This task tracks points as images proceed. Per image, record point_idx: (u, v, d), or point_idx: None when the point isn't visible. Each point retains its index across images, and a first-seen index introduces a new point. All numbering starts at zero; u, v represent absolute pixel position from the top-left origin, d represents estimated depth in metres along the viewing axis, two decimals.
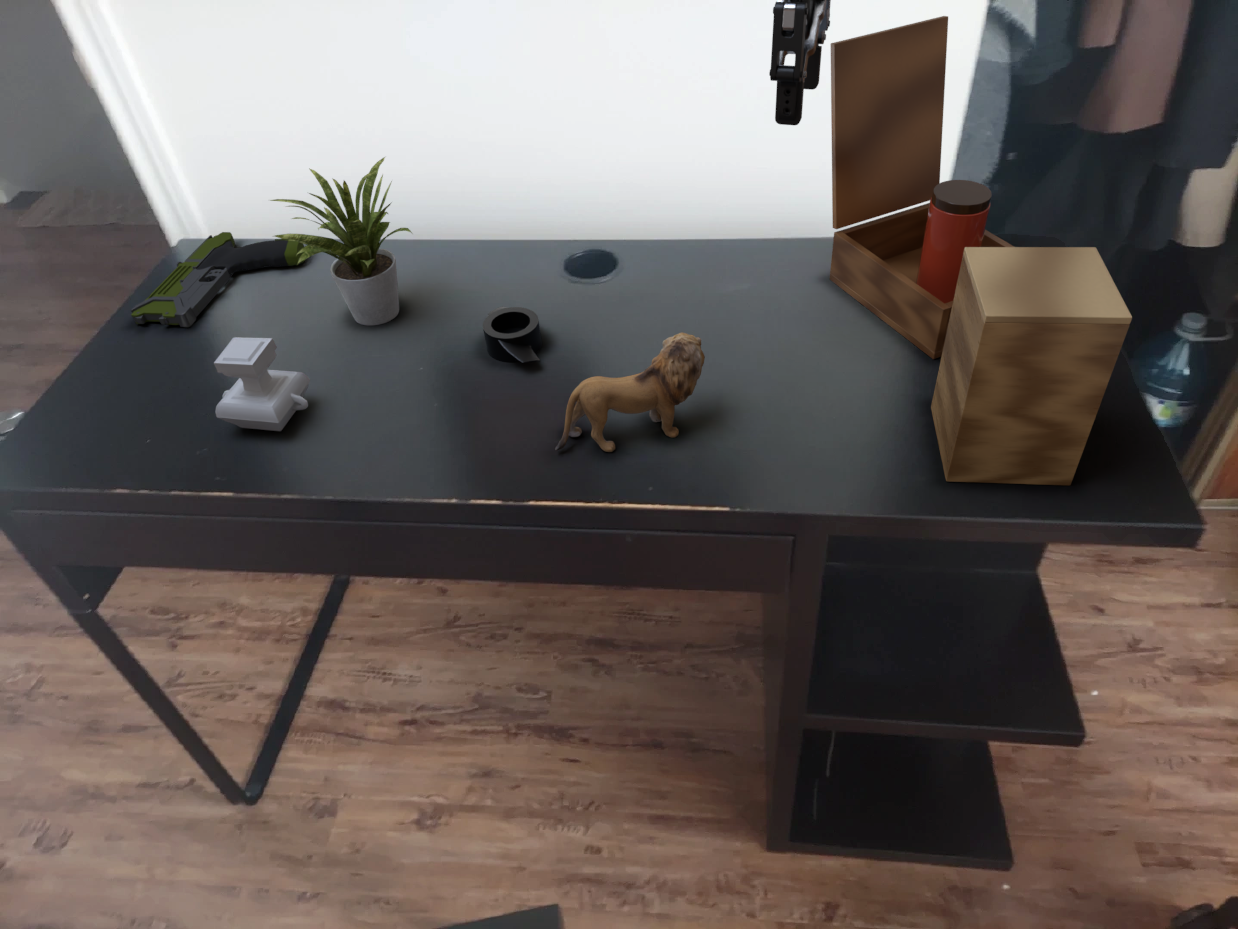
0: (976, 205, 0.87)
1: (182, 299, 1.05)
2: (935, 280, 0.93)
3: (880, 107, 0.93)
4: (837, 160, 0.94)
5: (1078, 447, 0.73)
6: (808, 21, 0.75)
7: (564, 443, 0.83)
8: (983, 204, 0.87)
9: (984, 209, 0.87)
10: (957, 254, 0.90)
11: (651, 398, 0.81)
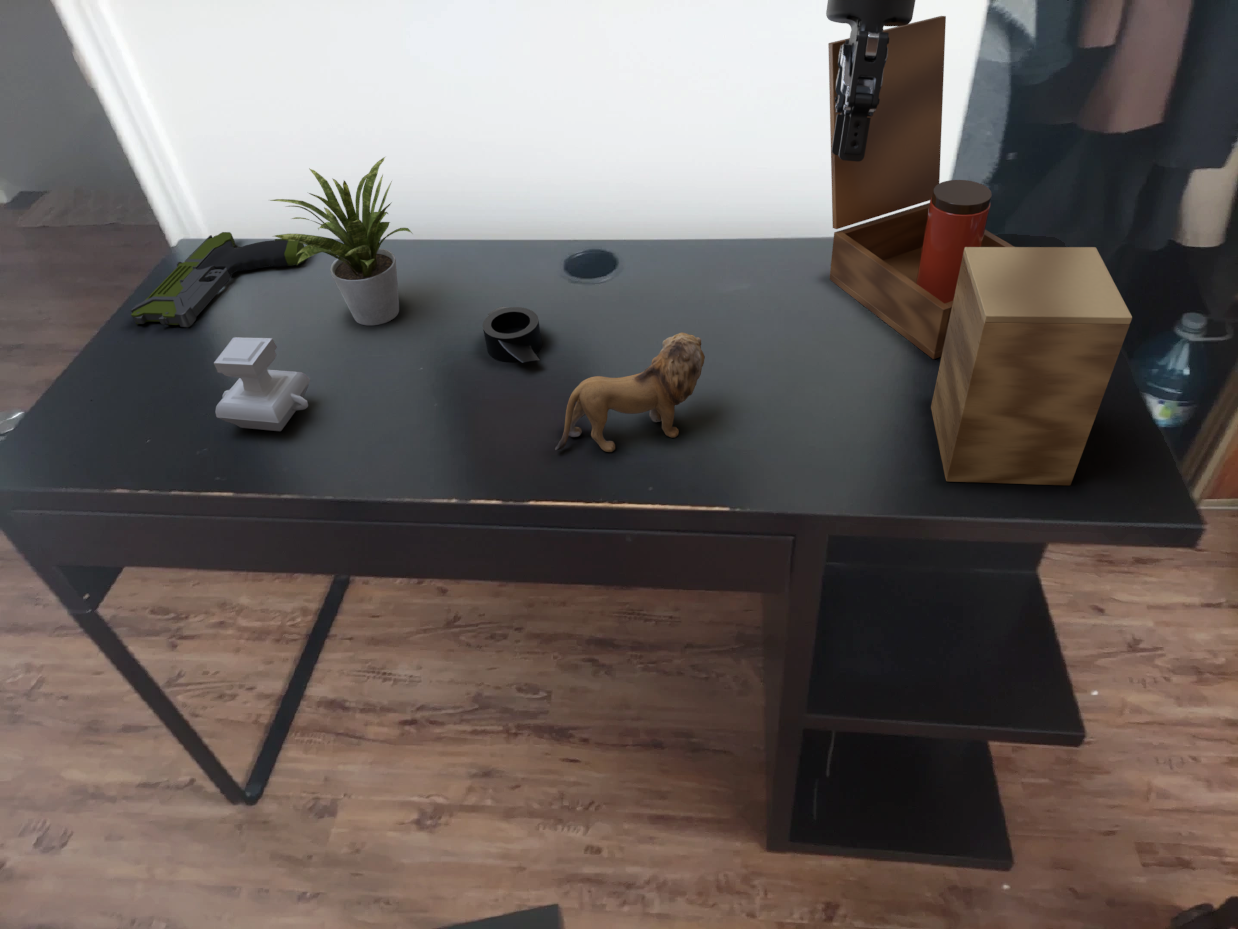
0: (976, 205, 0.87)
1: (182, 299, 1.05)
2: (935, 280, 0.93)
3: (879, 107, 0.93)
4: (836, 160, 0.94)
5: (1078, 447, 0.73)
6: None
7: (564, 443, 0.83)
8: (983, 204, 0.87)
9: (984, 209, 0.87)
10: (957, 254, 0.90)
11: (651, 398, 0.81)
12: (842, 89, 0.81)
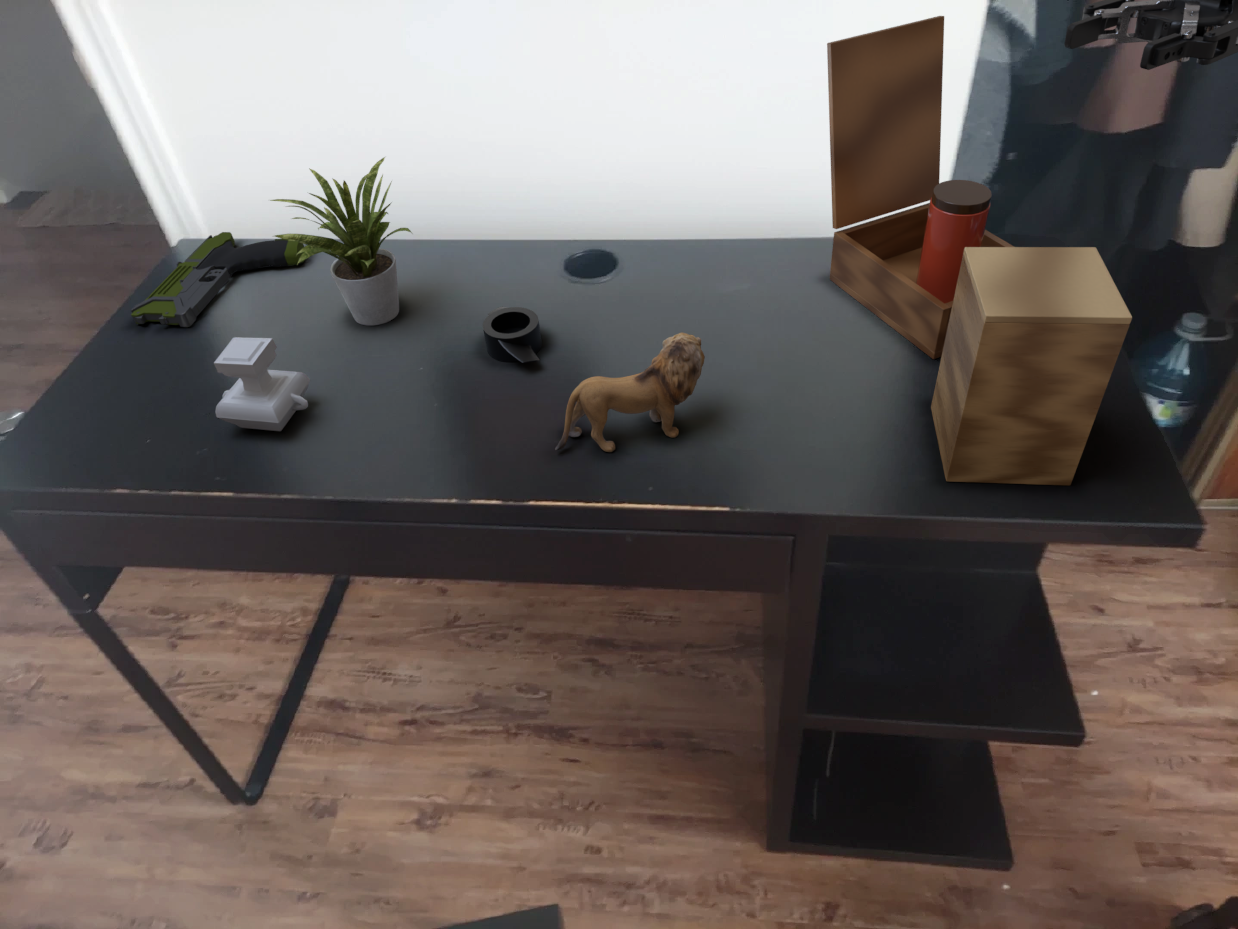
0: (976, 205, 0.87)
1: (182, 299, 1.05)
2: (935, 280, 0.93)
3: (878, 106, 0.93)
4: (835, 160, 0.94)
5: (1078, 447, 0.73)
6: None
7: (564, 443, 0.83)
8: (983, 204, 0.87)
9: (984, 209, 0.87)
10: (957, 254, 0.90)
11: (651, 398, 0.81)
12: (1187, 20, 0.83)
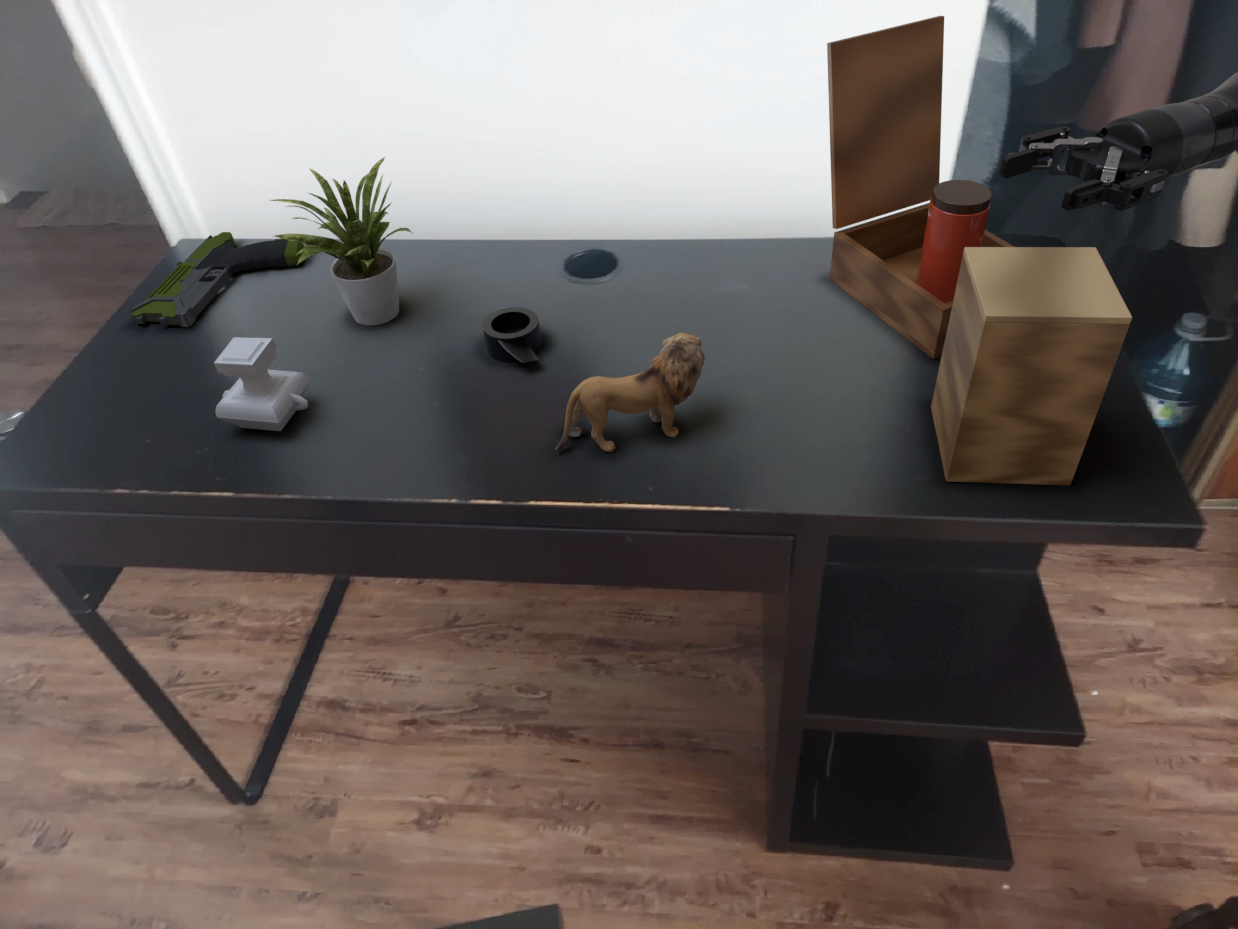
0: (976, 205, 0.87)
1: (182, 299, 1.05)
2: (935, 280, 0.93)
3: (878, 106, 0.93)
4: (835, 160, 0.94)
5: (1078, 447, 0.73)
6: None
7: (564, 443, 0.83)
8: (983, 204, 0.87)
9: (984, 209, 0.87)
10: (957, 254, 0.90)
11: (651, 398, 0.81)
12: (1108, 166, 0.90)
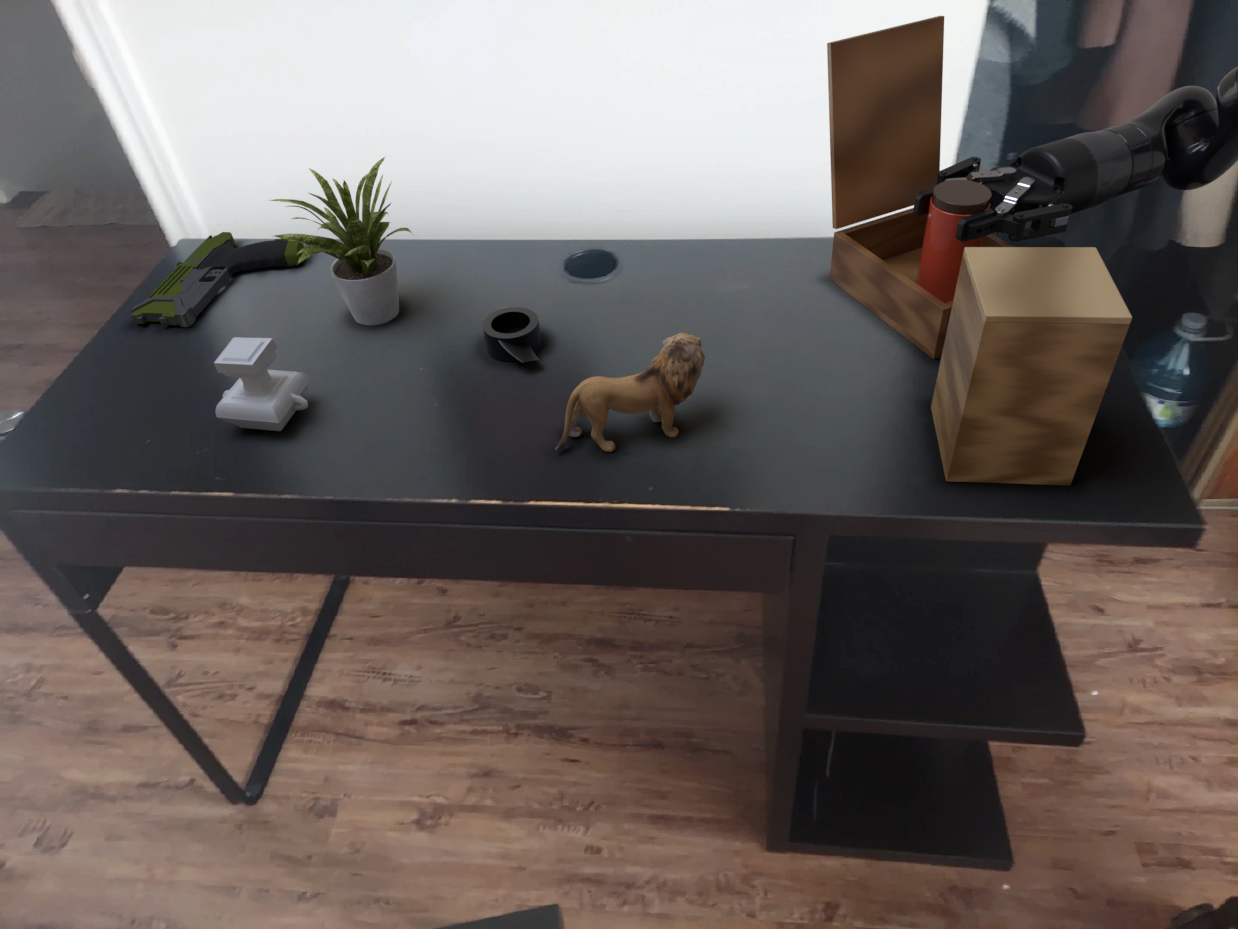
0: (976, 205, 0.87)
1: (182, 299, 1.05)
2: (935, 280, 0.93)
3: (878, 106, 0.93)
4: (835, 160, 0.94)
5: (1078, 447, 0.73)
6: None
7: (564, 443, 0.83)
8: (983, 204, 0.87)
9: (984, 209, 0.87)
10: (958, 254, 0.90)
11: (651, 398, 0.81)
12: (1009, 197, 0.88)
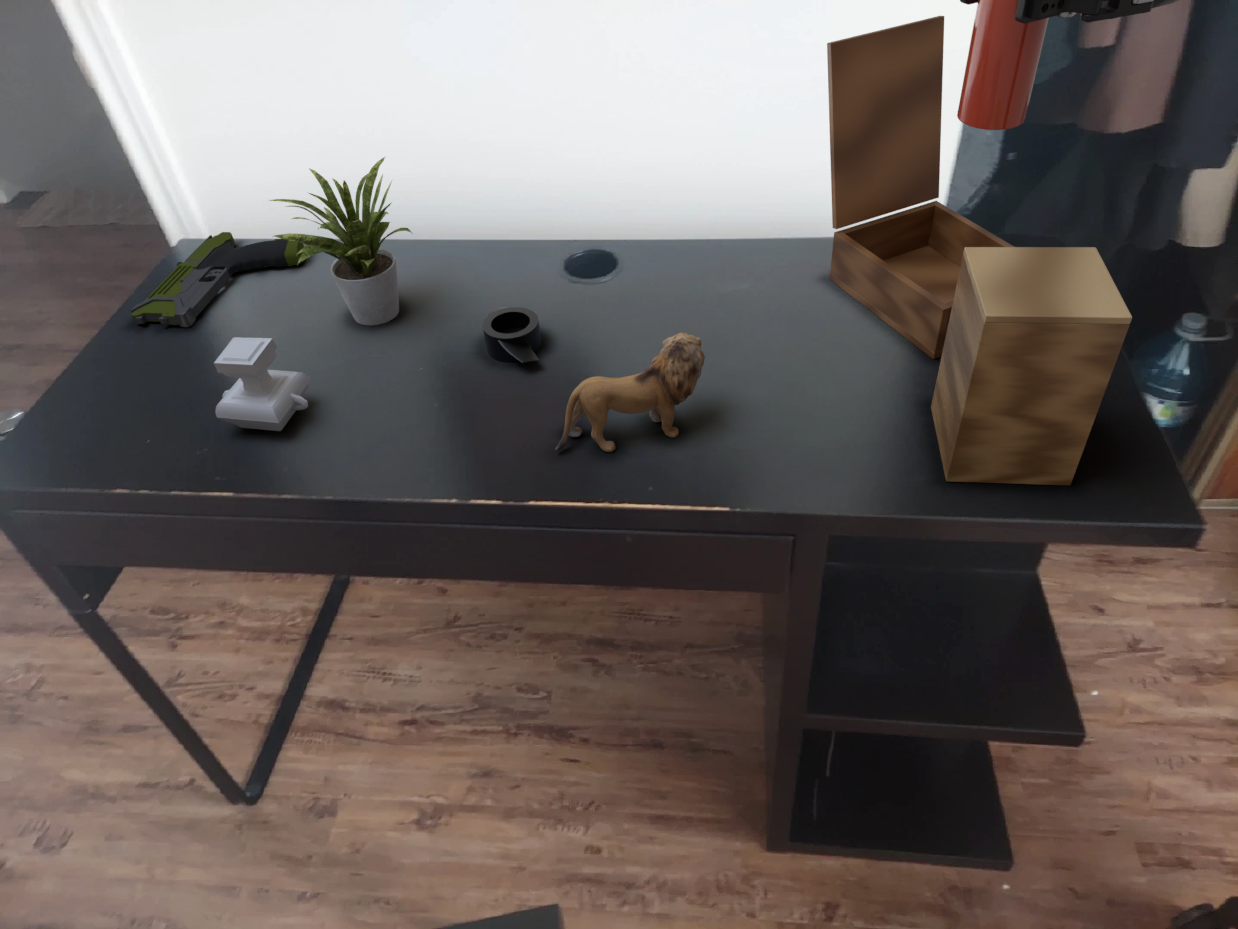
0: None
1: (182, 299, 1.05)
2: (986, 85, 0.76)
3: (878, 106, 0.93)
4: (835, 160, 0.94)
5: (1078, 447, 0.73)
6: None
7: (564, 443, 0.83)
8: None
9: None
10: (1016, 45, 0.73)
11: (651, 398, 0.81)
12: None
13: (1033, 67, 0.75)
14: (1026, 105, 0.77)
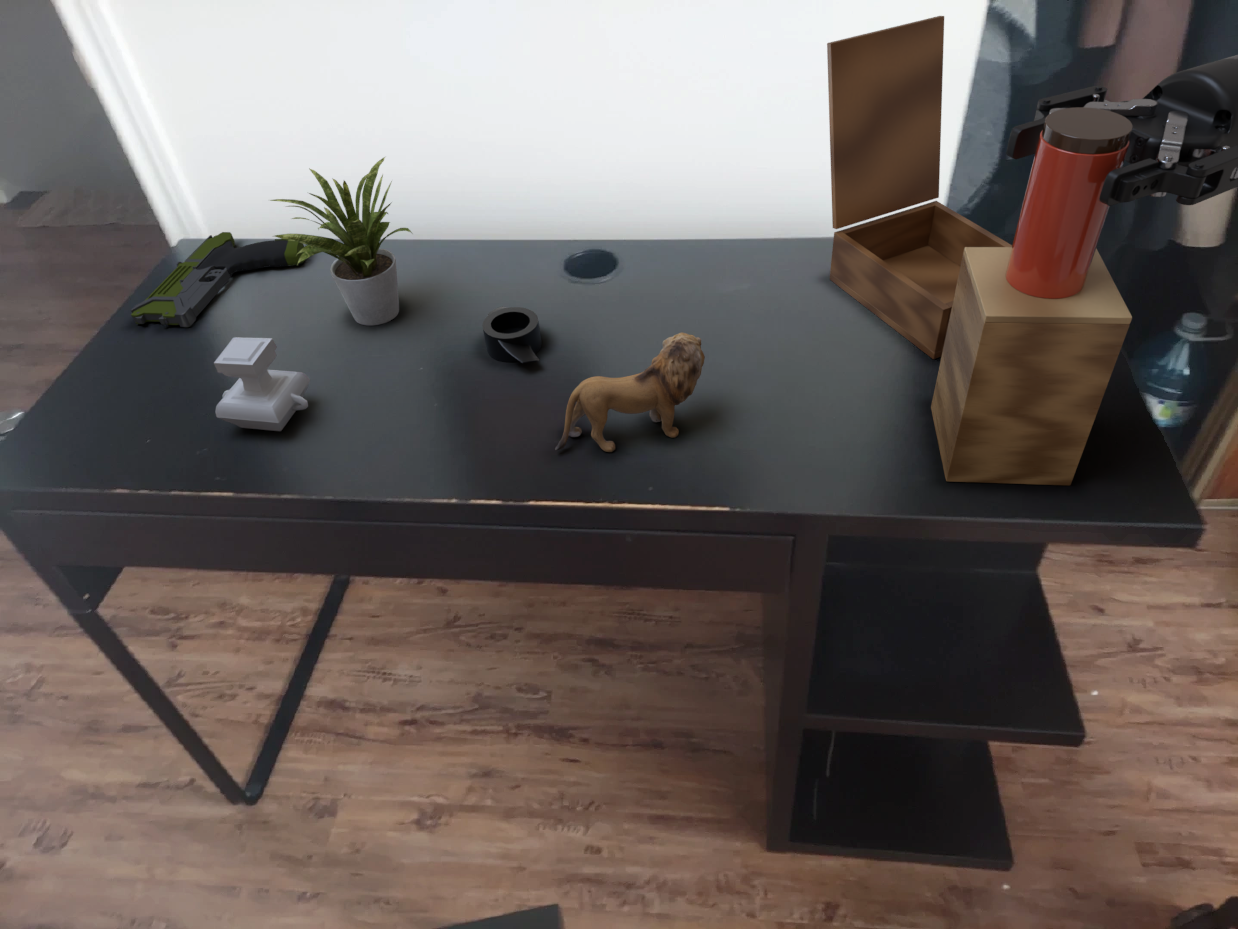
0: (1112, 140, 0.60)
1: (182, 299, 1.05)
2: (1042, 252, 0.65)
3: (878, 106, 0.93)
4: (835, 160, 0.94)
5: (1078, 447, 0.73)
6: None
7: (564, 443, 0.83)
8: (1122, 139, 0.60)
9: (1122, 147, 0.60)
10: (1079, 213, 0.63)
11: (651, 398, 0.81)
12: (1169, 140, 0.61)
13: (1096, 234, 0.65)
14: (1087, 272, 0.67)
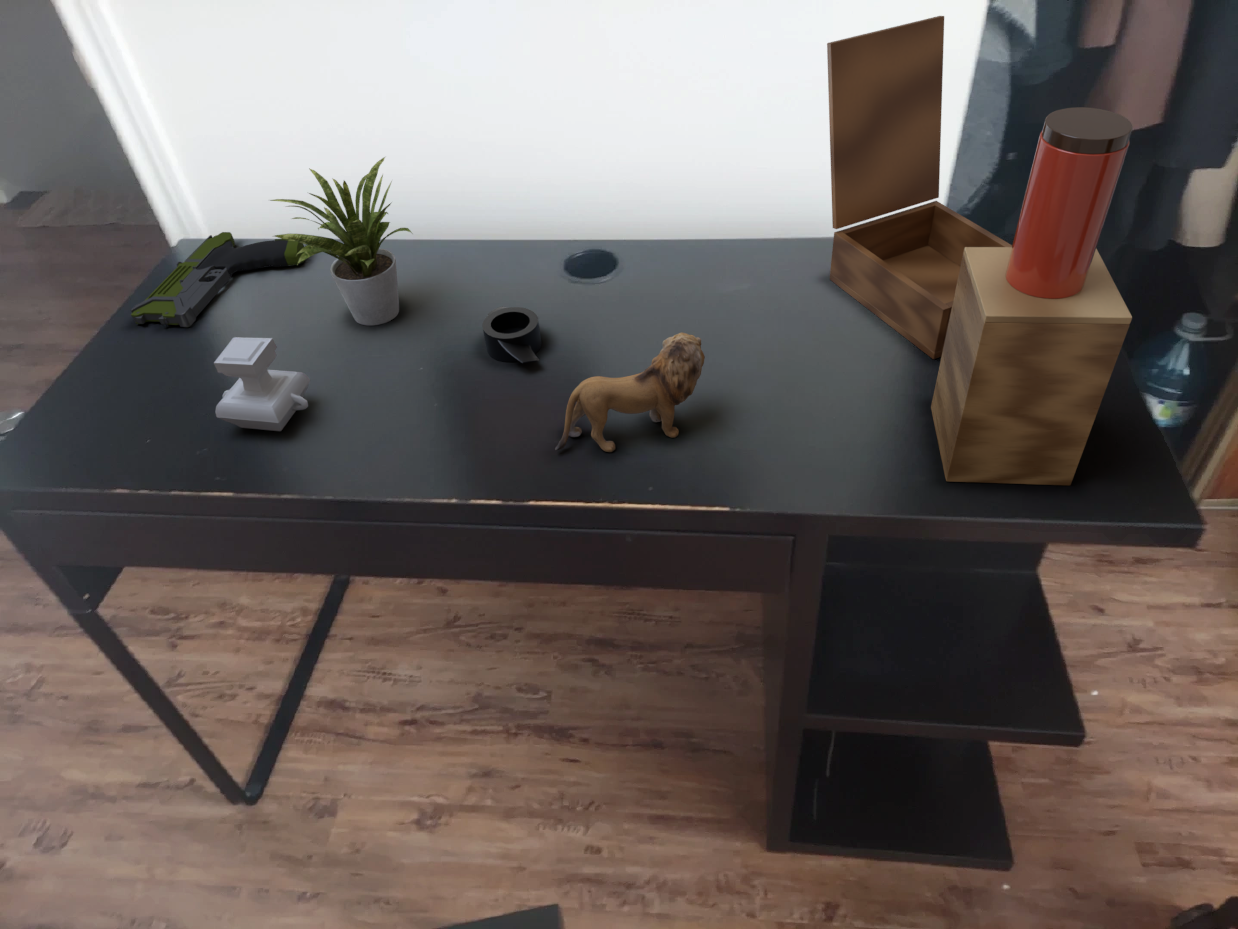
0: (1112, 140, 0.60)
1: (182, 299, 1.05)
2: (1042, 252, 0.65)
3: (878, 106, 0.93)
4: (835, 160, 0.94)
5: (1078, 447, 0.73)
6: None
7: (564, 443, 0.83)
8: (1122, 139, 0.60)
9: (1122, 147, 0.60)
10: (1079, 213, 0.63)
11: (651, 398, 0.81)
12: None
13: (1096, 234, 0.65)
14: (1087, 272, 0.67)
